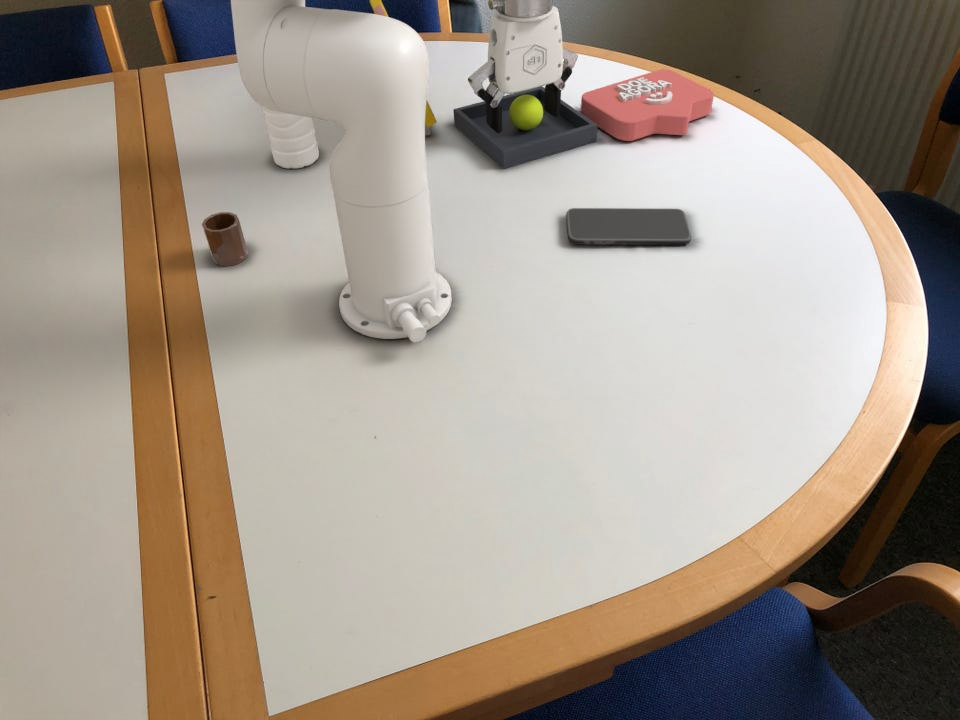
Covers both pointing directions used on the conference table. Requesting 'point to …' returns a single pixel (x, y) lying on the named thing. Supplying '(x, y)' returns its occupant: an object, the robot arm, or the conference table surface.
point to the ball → (526, 112)
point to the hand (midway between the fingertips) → (523, 121)
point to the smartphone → (627, 226)
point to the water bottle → (291, 139)
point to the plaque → (647, 105)
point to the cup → (225, 238)
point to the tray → (525, 131)
